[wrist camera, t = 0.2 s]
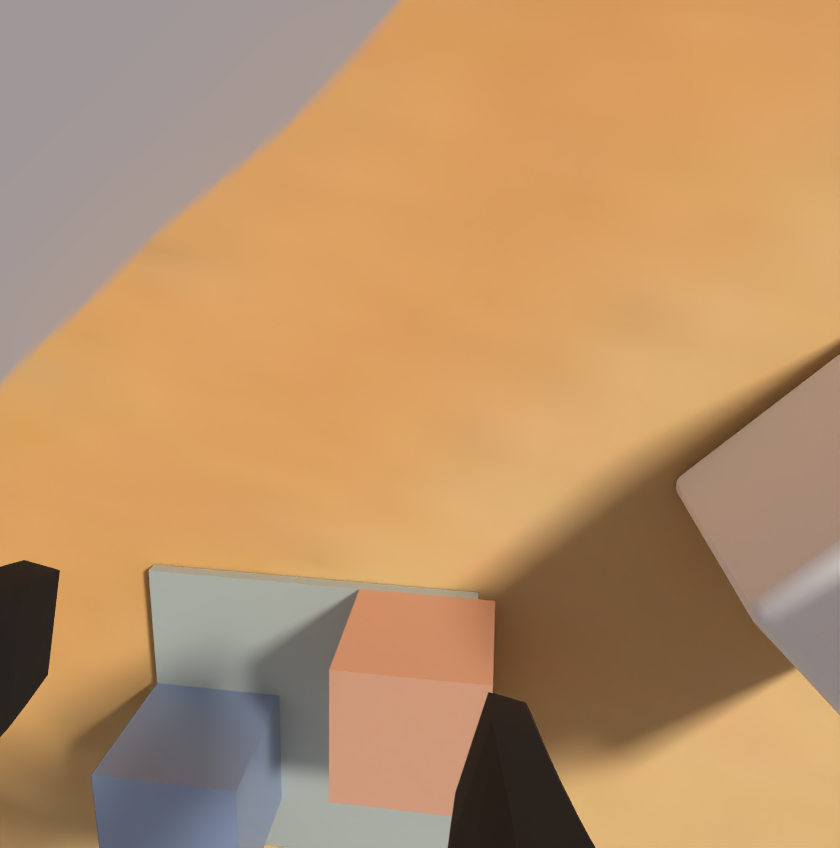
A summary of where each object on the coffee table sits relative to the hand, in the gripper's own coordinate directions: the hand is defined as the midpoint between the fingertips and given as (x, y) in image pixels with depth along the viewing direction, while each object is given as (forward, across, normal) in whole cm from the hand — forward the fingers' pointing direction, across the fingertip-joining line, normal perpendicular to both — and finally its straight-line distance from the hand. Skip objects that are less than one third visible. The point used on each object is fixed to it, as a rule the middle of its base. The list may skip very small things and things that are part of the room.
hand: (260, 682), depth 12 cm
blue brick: (+10, +2, +10) cm, 14 cm away
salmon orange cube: (+10, -3, +5) cm, 11 cm away
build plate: (+10, 0, +9) cm, 13 cm away
